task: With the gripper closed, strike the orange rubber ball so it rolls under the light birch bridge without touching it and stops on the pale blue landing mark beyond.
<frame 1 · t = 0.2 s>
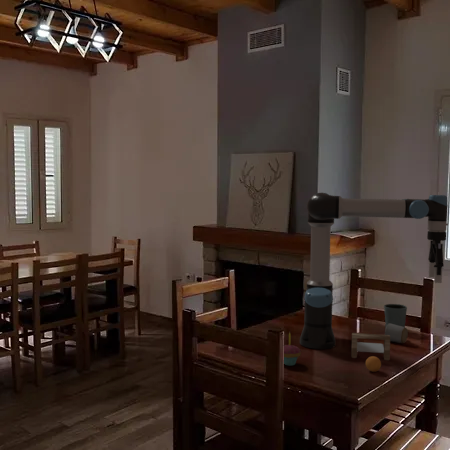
hand: (434, 280, 234), 28 cm above the table, tool pointing down, fingers open, 13 cm apart
grey green cup: (394, 331, 256), on the table
ball: (373, 363, 199), on the table
landing mark: (367, 347, 229), on the table
cupcake: (289, 364, 207), on the table
bridge: (370, 357, 215), on the table
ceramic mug: (396, 341, 239), on the table
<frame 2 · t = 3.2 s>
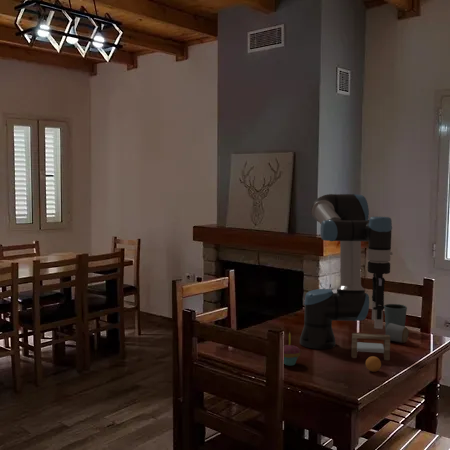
hand: (377, 324, 189), 20 cm above the table, tool pointing down, fingers open, 11 cm apart
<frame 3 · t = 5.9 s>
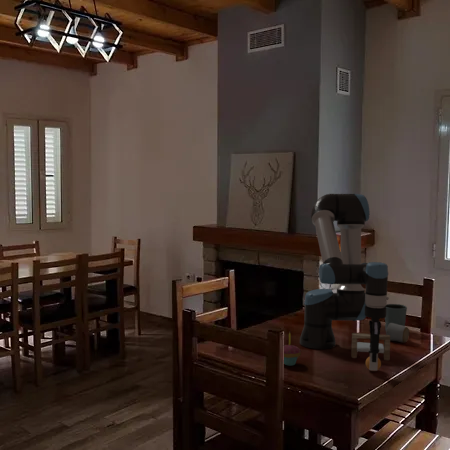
hand: (373, 369, 197), 2 cm above the table, tool pointing down, fingers closed
ball: (373, 363, 200), on the table, touching gripper
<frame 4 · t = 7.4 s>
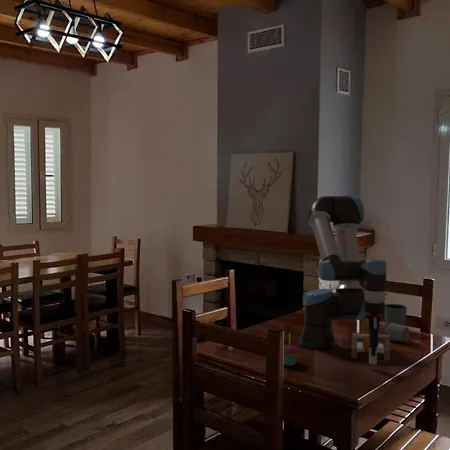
hand: (372, 363, 202), 2 cm above the table, tool pointing down, fingers closed
ball: (369, 344, 223), on the table
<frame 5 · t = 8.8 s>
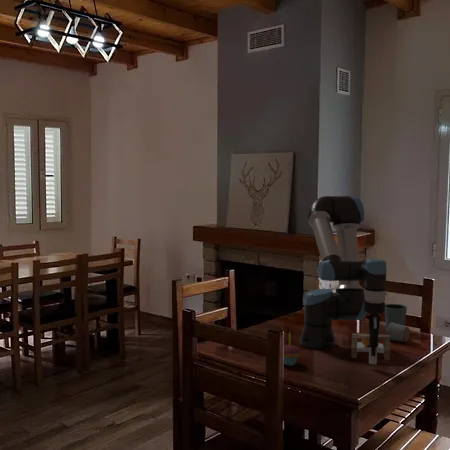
hand: (372, 363, 202), 2 cm above the table, tool pointing down, fingers closed
ball: (368, 340, 230), on the table
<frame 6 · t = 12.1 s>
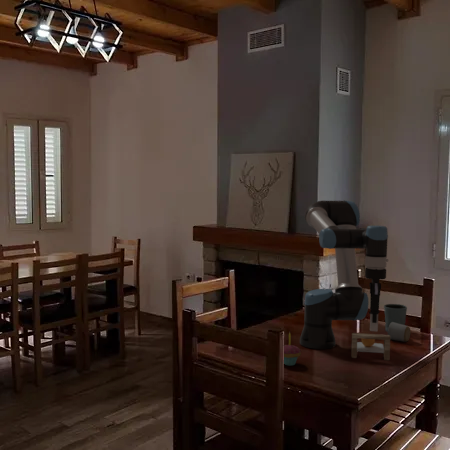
hand: (373, 330, 201), 14 cm above the table, tool pointing down, fingers closed
at the end: ball 1.4 cm from the landing mark (horizontally); ball never touched bridge; ball at rest at the end (0.0 cm/s) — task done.
